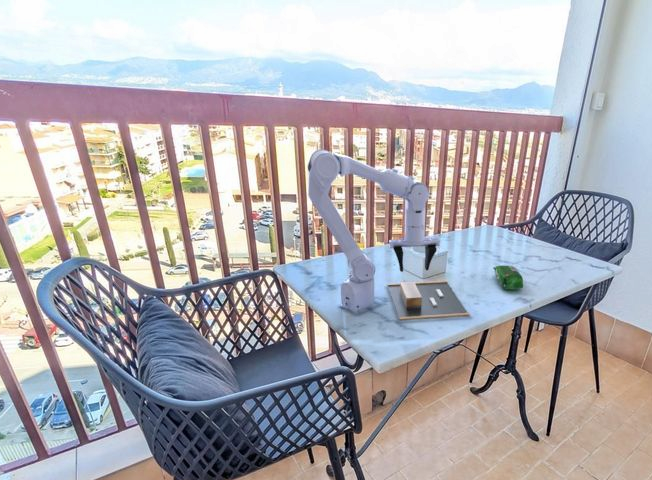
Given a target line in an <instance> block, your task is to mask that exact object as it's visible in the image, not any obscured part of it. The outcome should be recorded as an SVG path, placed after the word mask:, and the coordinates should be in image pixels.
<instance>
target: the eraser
mask: <svg viewBox="0 0 652 480" xmlns="http://www.w3.org/2000/svg"><path fill="white" fill-rule="evenodd" d="M414 282H415V281H400V282H399V283H400V294H401V297H402V299H403V302H404V304H405V307H406V309H415V308H421V306H422V297H421V295H420V293H419V291H418V289H417V287H416V285H415V283H414Z"/></svg>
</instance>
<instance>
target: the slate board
mask: <svg viewBox="0 0 652 480" xmlns="http://www.w3.org/2000/svg"><path fill="white" fill-rule="evenodd" d="M414 283H415V285H416V287H417V289H418V291H419V293H420V295H421V297H422V306H421V308H415V309H406V307H405V304H404V302H403V299H402V297H401V294H400V282H398V283H397V282H396V283H387V287H388V289H389V293H390V295H391V298H392V299H391V300H392V301H393V304H394V307H395V310H396V314H397V316H398V319H399V321H410V320H427V319H441V318H442V319H443V318H455V317H469V316H470V315H471V314H470V313H469V312H468V311H467V310H466V309H465V307H464V306H463V304H462V303H461V301H460V300H459V298H458V297H457V295H456V294H455V291H453V290H452V287H451V286H450V285H449V284H448V280H433V281H416V282H415V281H414ZM436 289H440V291H441V292H442V294H443V297H439V295H438V294H437V292H436ZM430 298H434V300H435V302H436V303H437V306H435V307H433V305H432V303H431V301H430Z"/></svg>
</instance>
